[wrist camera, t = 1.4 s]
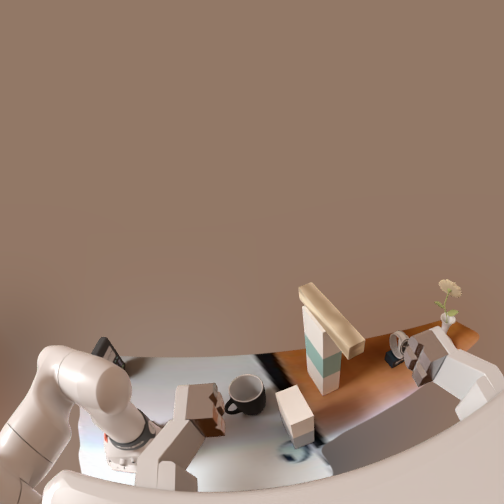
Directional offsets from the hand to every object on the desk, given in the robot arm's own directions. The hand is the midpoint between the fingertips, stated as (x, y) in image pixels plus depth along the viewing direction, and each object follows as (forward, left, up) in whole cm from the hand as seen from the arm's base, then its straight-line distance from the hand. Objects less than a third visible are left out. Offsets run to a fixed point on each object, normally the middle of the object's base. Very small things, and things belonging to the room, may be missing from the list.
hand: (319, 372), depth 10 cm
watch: (+40, +29, -58) cm, 76 cm away
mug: (-5, +35, -58) cm, 68 cm away
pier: (+5, +22, -58) cm, 62 cm away
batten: (+18, +32, -32) cm, 48 cm away
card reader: (-47, +63, -58) cm, 97 cm away
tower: (+18, +35, -58) cm, 70 cm away
